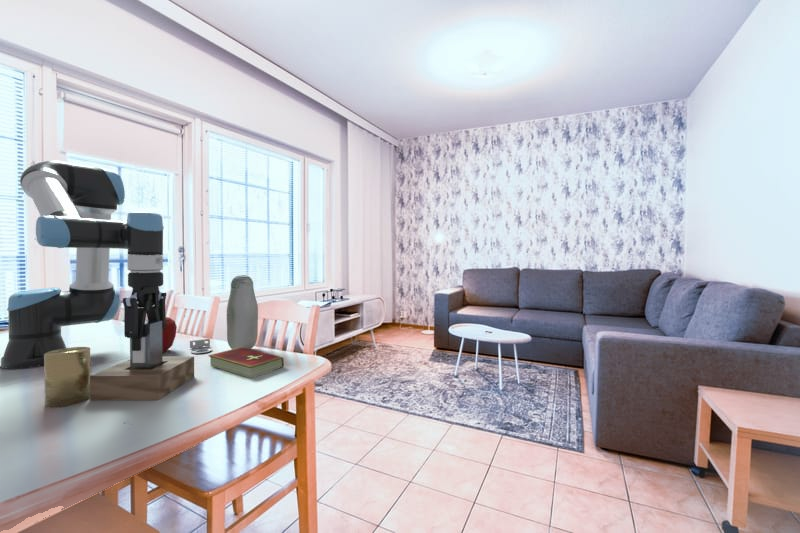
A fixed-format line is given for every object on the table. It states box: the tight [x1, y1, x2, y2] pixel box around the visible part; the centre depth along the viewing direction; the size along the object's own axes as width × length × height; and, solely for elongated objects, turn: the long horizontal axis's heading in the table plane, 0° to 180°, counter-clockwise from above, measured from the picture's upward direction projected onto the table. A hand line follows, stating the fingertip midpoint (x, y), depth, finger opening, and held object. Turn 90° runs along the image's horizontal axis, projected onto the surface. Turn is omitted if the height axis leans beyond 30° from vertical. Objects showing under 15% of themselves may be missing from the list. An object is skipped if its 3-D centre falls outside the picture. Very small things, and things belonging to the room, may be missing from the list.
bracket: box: [189, 338, 213, 355], centre depth 127 cm, size 7×10×4 cm, turn 35°
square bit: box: [129, 321, 164, 370], centre depth 92 cm, size 5×5×14 cm
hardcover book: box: [208, 347, 285, 379], centre depth 110 cm, size 12×21×4 cm, turn 59°
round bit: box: [43, 346, 92, 409], centre depth 84 cm, size 8×8×12 cm
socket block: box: [89, 355, 195, 401], centre depth 92 cm, size 16×16×6 cm
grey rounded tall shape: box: [226, 274, 259, 350], centre depth 127 cm, size 10×10×28 cm
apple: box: [145, 316, 178, 354], centre depth 124 cm, size 12×12×13 cm
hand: (146, 358), depth 92 cm, fingers closed on square bit, 5 cm apart
